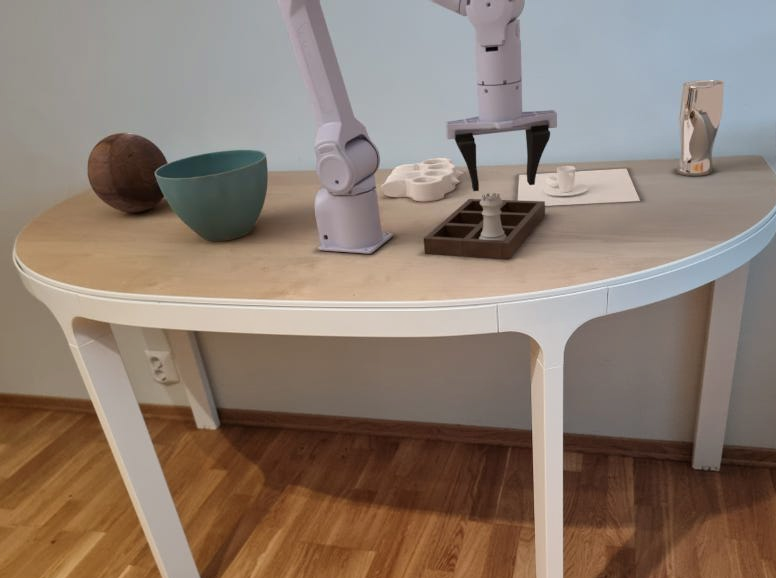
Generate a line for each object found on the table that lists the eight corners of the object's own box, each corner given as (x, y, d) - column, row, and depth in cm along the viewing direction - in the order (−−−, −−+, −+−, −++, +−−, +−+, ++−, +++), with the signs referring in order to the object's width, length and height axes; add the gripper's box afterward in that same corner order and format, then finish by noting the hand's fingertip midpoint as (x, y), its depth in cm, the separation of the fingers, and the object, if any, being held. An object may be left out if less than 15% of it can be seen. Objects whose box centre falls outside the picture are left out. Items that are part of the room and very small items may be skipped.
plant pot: (152, 250, 118) (130, 178, 112) (214, 215, 132) (198, 149, 126) (243, 254, 111) (225, 178, 105) (298, 217, 126) (285, 148, 120)
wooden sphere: (190, 196, 146) (170, 122, 138) (159, 220, 133) (136, 139, 125) (123, 201, 148) (100, 128, 141) (87, 224, 135) (60, 146, 128)
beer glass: (676, 177, 123) (684, 88, 116) (671, 167, 129) (678, 81, 122) (718, 175, 122) (729, 85, 115) (711, 165, 128) (720, 78, 121)
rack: (424, 253, 104) (423, 238, 102) (469, 212, 118) (469, 198, 117) (508, 259, 98) (508, 243, 97) (545, 215, 113) (545, 201, 112)
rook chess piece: (489, 241, 105) (486, 189, 101) (514, 246, 102) (512, 192, 99) (472, 251, 102) (468, 198, 98) (497, 256, 100) (494, 201, 96)
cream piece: (542, 184, 128) (541, 162, 126) (586, 182, 126) (587, 159, 124) (542, 199, 120) (542, 175, 118) (590, 196, 119) (590, 173, 117)
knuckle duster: (396, 176, 143) (467, 173, 140) (378, 204, 128) (458, 200, 125) (394, 160, 141) (466, 156, 139) (376, 185, 126) (456, 181, 123)
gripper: (445, 92, 86) (453, 200, 93) (562, 79, 86) (561, 188, 93) (441, 84, 93) (449, 185, 99) (550, 72, 92) (551, 174, 99)
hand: (503, 186), depth 97 cm, fingers open, 7 cm apart
